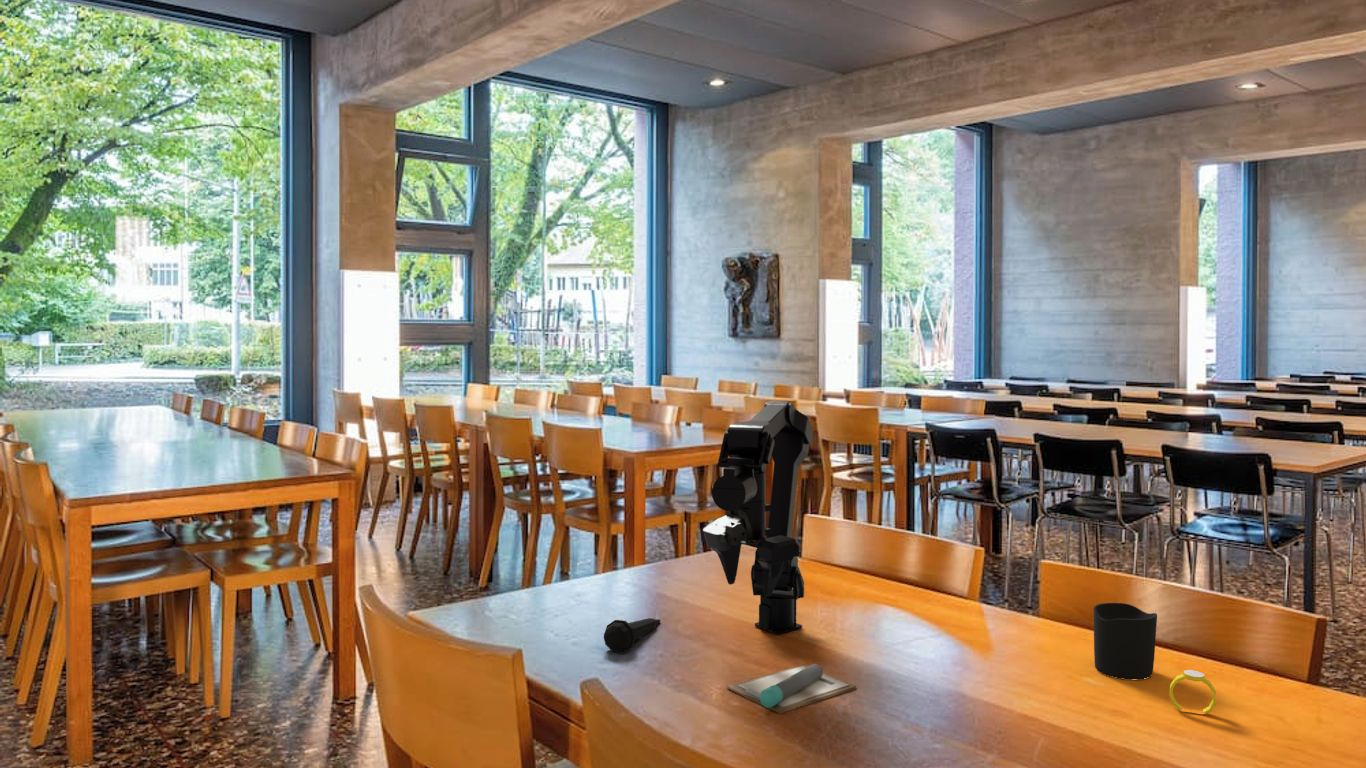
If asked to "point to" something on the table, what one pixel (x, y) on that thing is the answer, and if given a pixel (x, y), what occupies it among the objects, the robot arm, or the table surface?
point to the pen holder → (1124, 640)
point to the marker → (790, 685)
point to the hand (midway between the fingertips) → (749, 590)
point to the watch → (1194, 677)
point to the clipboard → (807, 695)
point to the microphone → (627, 633)
